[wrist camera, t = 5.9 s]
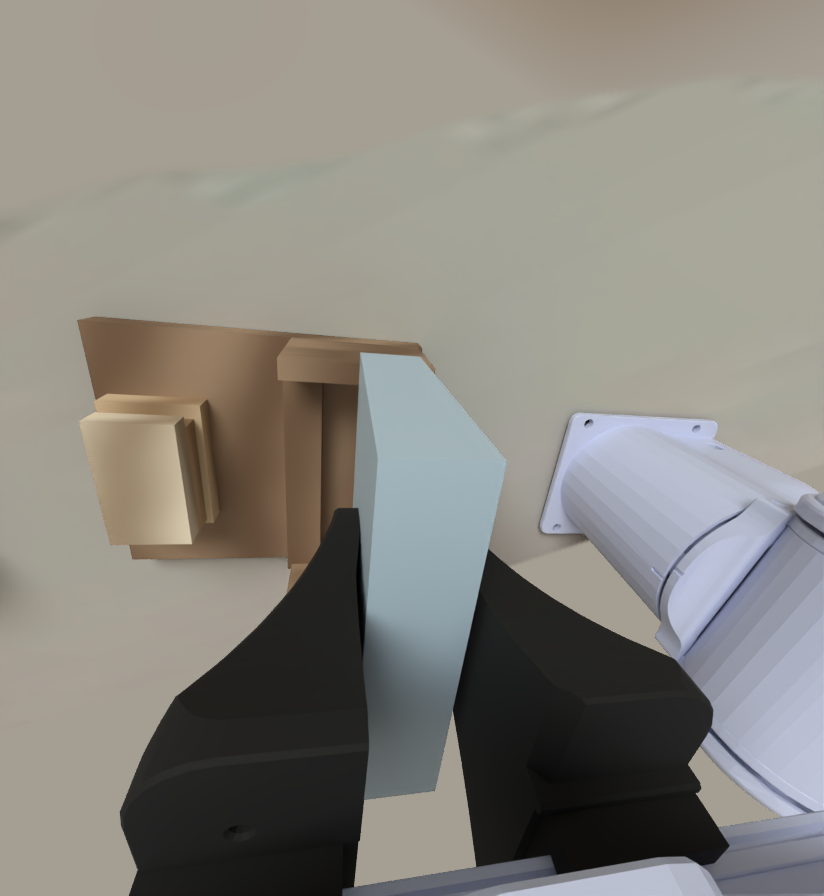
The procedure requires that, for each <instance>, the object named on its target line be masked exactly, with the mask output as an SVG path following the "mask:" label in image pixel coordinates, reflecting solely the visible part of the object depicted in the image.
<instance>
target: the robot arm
mask: <svg viewBox="0 0 824 896" xmlns="http://www.w3.org/2000/svg"><path fill="white" fill-rule="evenodd" d="M587 420H589V423H588V424H587V425H584V423H585V422H586V421H587ZM694 426H695V427H694ZM693 427H694V429H693ZM692 429H693V430H692ZM717 429H718V424H717V423H716V422H714V421H712V420H705V419H687V418H668V417H650V416H632V415H613V414H595V413H576V414H574V415H573V416H572V417H571V418H570V420H569V423H568V427H567V430H566V434H565V437H564V441H563V444H562V448H561V451H560V455H559V458H558V462H557V465H556V469H555V472H554V476H553V479H552V483H551V486H550V490H549V493H548V497H547V500H546V504H545V507H544V511H543V514H542V518H541V521H540V526H539V527H540V529H541V530H542V532H544V533H547V534H564V533H584V534H585V535H586V537H587V538H588V539H589V540H590V541H591V542H592V543H593V545H594V546H595V547H596V548H597V549H598V550H599V551H600V553H601V554H602V555H603V556H604V557H605V558H606V559H607V560H608V562H609V563H610V564H611V565H612V566H613V567H614V568H615V570H616V571H617V572H618V573H619V574H620V575H621V577H622V578H623V579H624V580H625V581H626V582H627V583H628V584H629V586H630V587H631V588H632V589H633V590H634V591H635V592H636V594H637V595H638V596H639V597H640V598H641V599H642V601H643V602H644V603H645V604H646V605H647V606H648V607H649V609H650V610H651V611H652V612H653V613H654V614H655V615H656V617H657V618H658V619H659V620H660V621H661V625H660V628H659V630H658V631H657V633H656V635H655V638H656V640H657V641H658V642H659V643H660V644H661V645H662V647H663V648H664V649H665V650H666V652H667V653H668V654H669V655H670V656H671V657H669V656H666V655H664V654H662V653H659V652H657V651H655V650H653V649H650V648H648V647H646V646H643V645H641V644H638V643H636V642H634V641H631V640H629V639H627V638H625V637H623V636H621V635H619V634H617V633H615V632H612V631H611V630H609V629H607V628H604V627H603V626H601V625H599V624H597V623H595V622H593V621H591V620H589V619H587V618H585V617H583V616H582V615H580V614H578V613H577V612H575V611H573V610H572V609H570V608H568V607H567V606H565V605H563V604H562V603H560V602H558V601H556V600H555V599H553V598H552V597H550V596H549V595H547V594H546V593H544V592H543V591H541V590H540V589H538V588H537V587H535V586H534V585H533V584H531V583H530V582H528V581H527V580H525V579H524V578H523V577H521V576H520V575H519V574H518V573H516V572H515V571H514V570H512V569H511V568H510V567H509V566H508V565H506V564H505V563H504V562H503V561H502V560H500V559H499V558H498V557H497V556H496V555H495V554H493V553H492V552H491V551H490V550H489V549H488V551H487V556H486V561H485V565H484V570H483V574H482V579H481V583H480V588H479V592H478V597H477V602H476V606H475V611H474V615H473V620H472V624H471V629H470V633H469V638H468V643H467V647H466V652H465V656H464V661H463V665H462V670H461V674H460V679H459V684H458V688H457V693H456V697H455V702H454V706H453V714H454V720H455V725H456V732H457V737H458V743H459V749H460V755H461V761H462V768H463V775H464V780H465V788H466V795H467V801H468V808H469V815H470V823H471V830H472V837H473V845H474V852H475V860H476V867H474V868H468V869H462V870H456V871H449V872H443V873H438V874H431V875H425V876H419V877H413V878H407V879H400V880H394V881H388V882H382V883H377V884H370V885H364V886H358V887H354V881H355V870H356V860H357V851H358V841H360V833H361V824H362V814H363V805H364V795H365V785H366V776H367V766H368V756H369V730H368V709H367V700H366V692H365V683H364V673H363V664H362V654H361V642H360V630H359V617H358V603H357V573H358V557H359V541H360V518H359V510H358V508H337V509H336V510H335V511H334V514H333V518H332V521H331V523H330V526H329V528H328V530H327V532H326V534H325V537H324V538H323V540H322V542H321V544H320V546H319V548H318V549H317V551H316V553H315V555H314V556H313V558H312V559H311V561H310V562H309V564H308V565H307V567H306V568H305V570H304V572H303V573H302V575H301V576H300V577H299V579H298V580H297V581H296V583H295V584H294V585H293V587H292V588H291V589H290V591H289V592H288V593H287V594H286V596H285V597H284V598H283V599H282V600H281V602H280V603H279V604H278V605H277V606H276V607H275V608H274V609H273V611H272V612H271V613H270V614H269V615H268V616H267V617H266V618H265V619H264V620H263V622H262V623H261V624H260V625H259V626H258V627H257V628H256V629H255V630H254V631H253V632H252V633H251V634H249V635H248V636H247V637H246V638H245V639H244V640H243V641H242V642H241V643H240V644H239V645H238V646H237V647H236V648H234V649H233V650H232V651H231V652H230V653H229V654H228V655H227V656H226V657H225V658H224V659H222V660H221V661H220V662H219V663H218V664H217V665H215V666H214V667H213V668H212V669H210V670H209V671H208V672H207V673H205V674H204V675H203V676H202V677H200V678H199V679H198V680H196V681H195V682H194V683H193V684H191V685H190V686H189V687H188V688H187V689H185V690H184V691H183V692H181V693H180V694H179V695H177V696H176V697H175V699H174V700H173V702H172V704H171V705H170V707H169V708H168V710H167V712H166V713H165V715H164V717H163V718H162V720H161V722H160V724H159V725H158V727H157V729H156V731H155V733H154V735H153V737H152V738H151V740H150V742H149V744H148V746H147V748H146V750H145V752H144V754H143V756H142V758H141V761H140V763H139V765H138V768H137V770H136V773H135V775H134V778H133V780H132V783H131V785H130V788H129V790H128V793H127V795H126V798H125V801H124V803H123V805H122V808H121V811H120V818H121V827H122V829H123V832H124V834H125V837H126V840H127V843H128V845H129V848H130V850H131V853H132V856H133V859H134V861H135V864H136V866H137V869H138V871H137V874H136V877H135V879H134V882H133V885H132V888H131V891H130V894H129V896H824V493H819V492H818V491H816V490H815V489H813V488H812V487H810V486H808V485H807V484H805V483H803V482H801V481H799V480H797V479H795V478H793V477H791V476H789V475H787V474H785V473H783V472H781V471H778V470H776V469H774V468H772V467H770V466H768V465H766V464H764V463H762V462H760V461H758V460H756V459H754V458H751V457H749V456H747V455H745V454H743V453H741V452H739V451H737V450H735V449H733V448H731V447H729V446H727V445H724V444H722V443H720V442H718V441H716V440H714V439H713V438H714V436H715V434H716V432H717ZM556 524H557V526H555V527H553V526H554V525H556ZM699 747H701V748H702V749H703V751H704V752H705V753H706V754H707V755H708V757H709V758H710V759H711V760H712V761H713V762H714V763H715V764H716V765H717V767H719V769H720V770H721V771H723V772H724V773H725V774H726V775H727V776H728V777H729V778H730V779H731V780H732V781H733V782H734V783H735V784H736V785H738V786H739V787H740V788H741V789H742V790H743V791H745V792H746V793H747V794H748V795H750V796H751V797H752V798H754V799H755V800H756V801H758V802H759V803H760V804H762V805H763V806H765V807H766V808H768V809H769V810H771V811H773V812H774V813H776V814H778V815H779V816H781V817H779V818H773V819H767V820H761V821H755V822H749V823H743V824H737V825H730V826H724V827H717V825H716V824H715V822H714V821H713V819H712V818H711V816H710V815H709V813H708V811H707V810H706V808H705V807H704V805H703V804H702V803H701V801H700V799H699V798H698V796H697V795H696V793H698V792H699V791H700V790H701V786H700V782H699V780H698V779H697V778H696V776H695V774H694V773H693V772H692V770H691V769H690V767H689V766H688V763H689V761H690V760H691V759H692V757H693V756H694V754H695V753H696V751H697V750H698V748H699Z"/></svg>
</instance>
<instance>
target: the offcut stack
mask: <svg viewBox="0 0 824 896" xmlns="http://www.w3.org/2000/svg"><path fill="white" fill-rule="evenodd" d="M94 403H95V408H96V412H94V413H92V414H91V415H89V416H87V417H86V418H84V419H82V420H81V421H79V424H80V428H81V432H82V436H83V440H84V444H85V448H86V452H87V456H88V460H89V463H90V467H91V471H92V475H93V479H94V483H95V487H96V491H97V495H98V499H99V503H100V506H101V510H102V514H103V518H104V522H105V526H106V530H107V534H108V538H109V542H110V545H156V544H192V543H193V542H194V540H195V538H196V536H197V534H198V532H200V531H201V529H202V527H203V525H204V524H205V523H214V521H215V519H216V518H217V516H218V514H219V512H220V510H219V501H218V492H217V483H216V474H215V465H214V456H213V447H212V438H211V429H210V420H209V411H208V402H207V399H199V398H179V397H160V396H141V395H122V394H106V395H104V396H102V397H100V398H99V399H97V400H95V401H94Z"/></svg>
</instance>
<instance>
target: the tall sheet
mask: <svg viewBox="0 0 824 896" xmlns="http://www.w3.org/2000/svg"><path fill="white" fill-rule="evenodd" d="M506 465H507V461H506V460H505V458H504V457H503V456H502V455H501V454H500V452H499V451H498V450H497V449H496V448H495V446H494V445H493V444H492V443H491V442H490V440H489V439H488V438H487V437H486V436H485V434H484V433H483V432H482V431H481V429H480V428H479V427H478V426H477V425H476V423H475V422H474V421H473V420H472V419H471V417H470V416H469V415H468V414H467V413H466V411H465V410H464V409H463V408H462V407H461V405H460V404H459V403H458V402H457V401H456V399H455V398H454V397H453V396H452V395H451V393H450V392H449V391H448V390H447V389H446V387H445V386H444V385H443V384H442V382H441V381H440V380H439V379H438V378H437V376H436V375H435V374H434V373H433V372H432V370H431V369H430V368H429V367H428V366H427V364H426V363H425V362H424V361H423V360H422V358H421V357H416V356H403V355H389V354H376V353H362V352H360V370H359V391H358V411H357V432H356V452H355V473H354V493H353V508H358V510H359V518H360V541H359V557H358V573H357V603H358V617H359V630H360V642H361V654H362V664H363V673H364V683H365V692H366V700H367V709H368V730H369V756H368V766H367V776H366V785H365V795H364V800H367V799H375V798H383V797H390V796H398V795H406V794H414V793H422V792H430V791H435V788H436V784H437V779H438V775H439V770H440V766H441V761H442V756H443V752H444V747H445V743H446V738H447V733H448V729H449V725H450V720H451V715H452V711H453V706H454V702H455V697H456V693H457V688H458V684H459V679H460V674H461V670H462V665H463V661H464V656H465V652H466V647H467V643H468V638H469V633H470V629H471V624H472V620H473V615H474V611H475V606H476V602H477V597H478V592H479V588H480V583H481V579H482V574H483V570H484V565H485V561H486V556H487V551H488V547H489V542H490V538H491V533H492V529H493V524H494V520H495V515H496V510H497V506H498V501H499V497H500V492H501V488H502V483H503V479H504V474H505V469H506Z"/></svg>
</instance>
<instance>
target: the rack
mask: <svg viewBox="0 0 824 896" xmlns="http://www.w3.org/2000/svg"><path fill="white" fill-rule="evenodd" d="M77 321H78V326H79V330H80V334H81V339H82V343H83V347H84V351H85V356H86V360H87V364H88V369H89V373H90V377H91V382H92V386H93V390H94V395H95V399H96V400H97V399H99V398H100V397H102V396H104V395H106V394H122V395H141V396H160V397H179V398H199V399H207V402H208V411H209V420H210V429H211V438H212V447H213V456H214V465H215V474H216V483H217V492H218V501H219V510H220V512H219V514H218V516H217V518H216V519H215V521H214V523H205V524H204V525H203V527H202V529H201V531H200V532H198V534H197V536H196V538H195V540H194V542H193V543H192V544H156V545H129V546H130V550H131V555H132V559H188V558H254V557H288V569H291V572H290V578H289V583H288V589H287V593H288V592H289V591H290V589H291V588H292V587H293V585H294V584H295V583H296V581H297V580H298V579H299V577H300V576H301V575H302V573H303V572H304V570H305V568H306V567H307V565H308V564H309V562H310V561H311V559H312V558H313V556H314V555H315V553H316V551H317V549H318V548H319V546H320V544H321V542H322V540H323V538H324V537H325V534H326V532H327V530H328V528H329V526H330V523H331V521H332V518H333V514H334V511H335V510H336V509H337V508H353V493H354V473H355V452H356V432H357V411H358V391H359V370H360V352H362V353H376V354H389V355H403V356H416V357H421V358H422V360H423V361H424V362H425V363H426V364H427V366H428V367H429V368H430V369H431V370H432V372H433V373H434V374H435V368H434V367H433V365H432V364H431V363H430V362H429V361H428V359H427V358H426V357H425V356H424V355H423V353H422V348H421V346H420V345H419V344H418V343H408V342H396V341H383V340H371V339H359V338H347V337H335V336H323V335H311V334H299V333H287V332H274V331H262V330H250V329H238V328H226V327H214V326H202V325H190V324H178V323H165V322H153V321H141V320H129V319H117V318H105V317H91V318H86V319H81V320H77Z"/></svg>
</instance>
